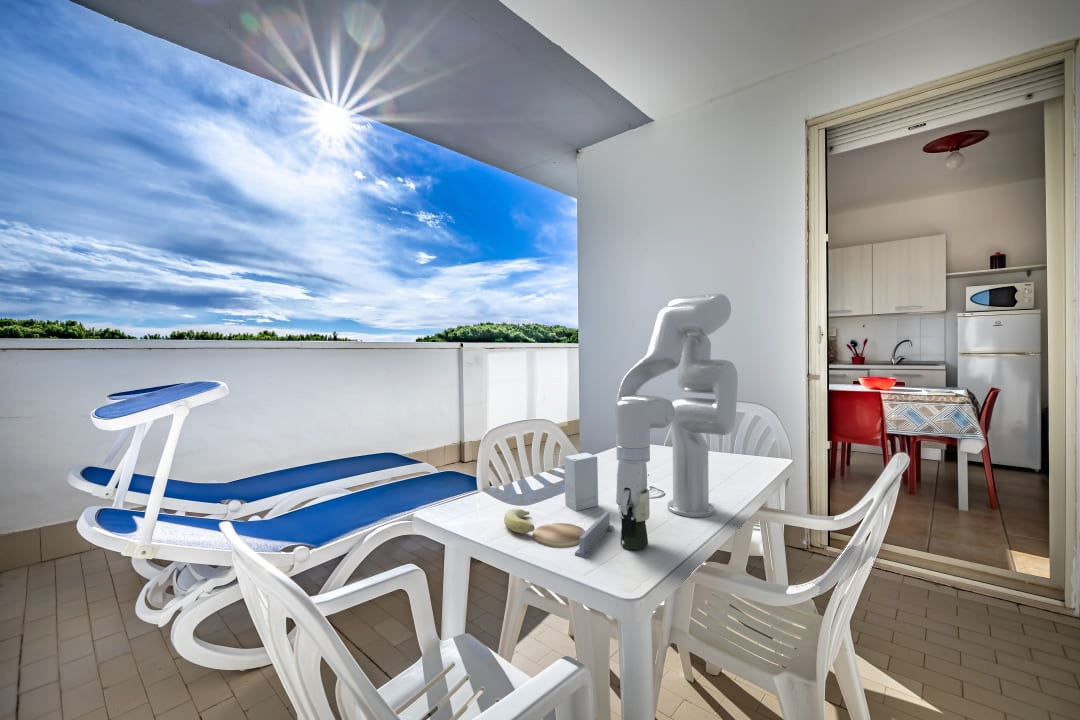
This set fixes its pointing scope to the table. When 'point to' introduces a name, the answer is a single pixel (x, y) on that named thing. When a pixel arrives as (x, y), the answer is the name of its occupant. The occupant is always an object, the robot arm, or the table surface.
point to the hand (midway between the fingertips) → (633, 529)
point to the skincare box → (581, 481)
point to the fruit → (518, 521)
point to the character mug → (638, 523)
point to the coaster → (558, 535)
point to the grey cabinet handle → (593, 535)
